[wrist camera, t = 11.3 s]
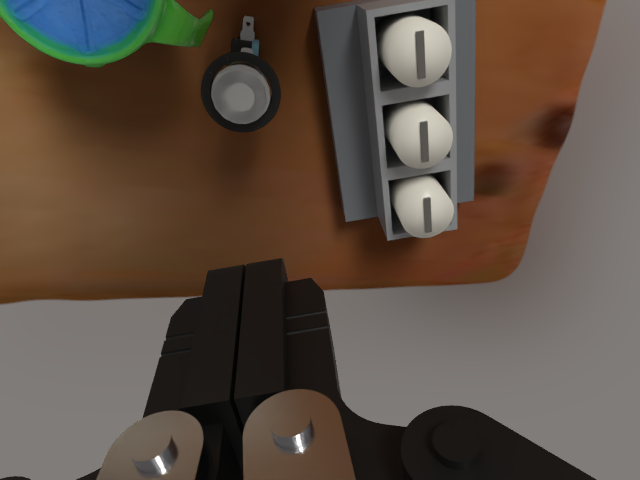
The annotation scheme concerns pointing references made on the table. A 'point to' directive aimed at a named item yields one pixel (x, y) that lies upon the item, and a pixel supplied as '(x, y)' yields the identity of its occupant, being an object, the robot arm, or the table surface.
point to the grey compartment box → (383, 89)
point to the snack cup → (102, 27)
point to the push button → (241, 86)
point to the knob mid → (417, 133)
